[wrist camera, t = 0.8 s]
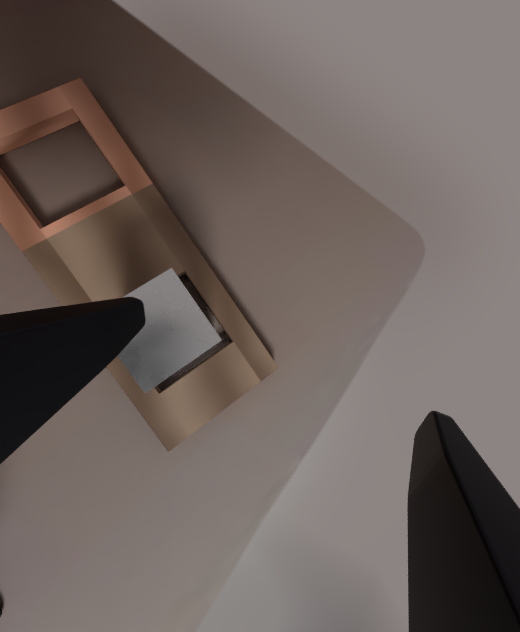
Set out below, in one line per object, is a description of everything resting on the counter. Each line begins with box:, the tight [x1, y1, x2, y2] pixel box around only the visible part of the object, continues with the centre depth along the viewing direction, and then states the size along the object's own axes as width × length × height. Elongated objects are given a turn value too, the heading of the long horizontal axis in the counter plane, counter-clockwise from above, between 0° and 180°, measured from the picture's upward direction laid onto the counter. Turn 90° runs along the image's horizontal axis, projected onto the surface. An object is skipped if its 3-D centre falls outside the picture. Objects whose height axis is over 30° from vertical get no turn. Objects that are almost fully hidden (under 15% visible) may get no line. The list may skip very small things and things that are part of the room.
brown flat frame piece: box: [0, 78, 278, 452], centre depth 21 cm, size 10×26×1 cm, turn 34°
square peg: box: [118, 268, 221, 393], centre depth 18 cm, size 4×4×8 cm
